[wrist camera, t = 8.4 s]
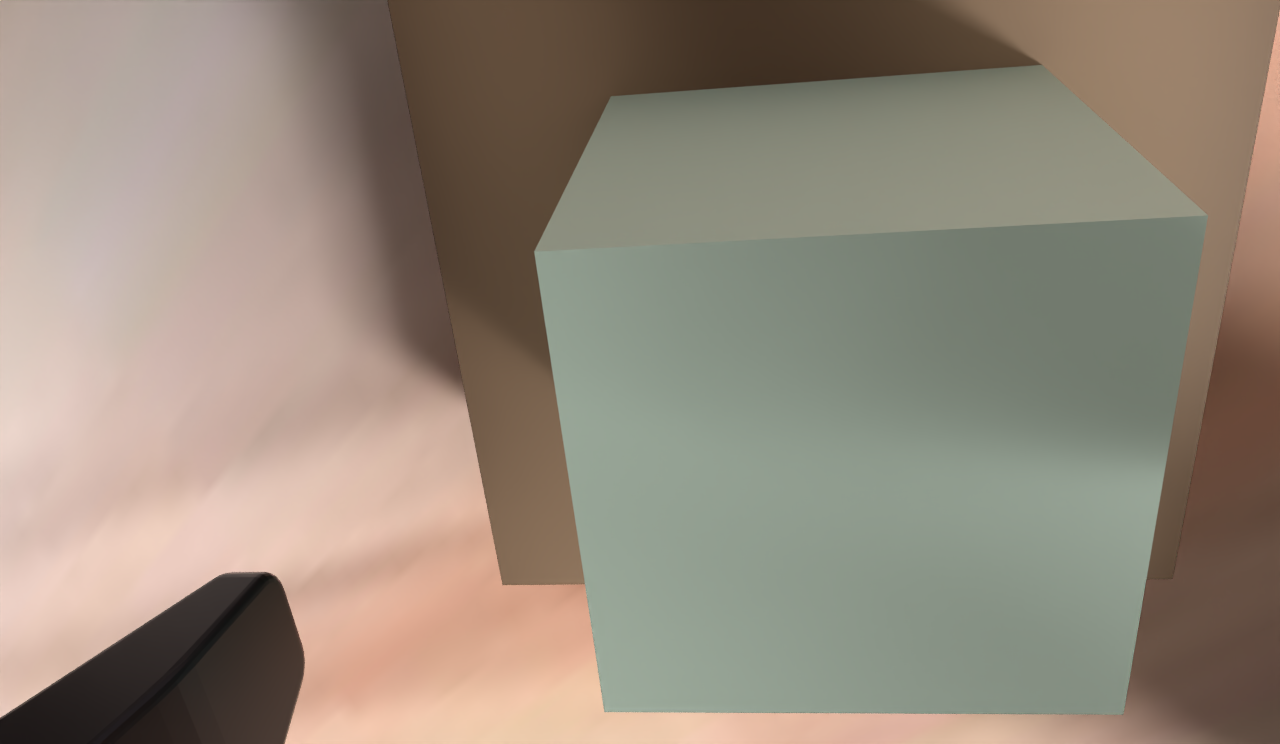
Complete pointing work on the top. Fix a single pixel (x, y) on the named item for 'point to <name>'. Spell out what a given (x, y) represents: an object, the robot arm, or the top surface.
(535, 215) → the walnut base
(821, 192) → the sage cube
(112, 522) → the top surface
